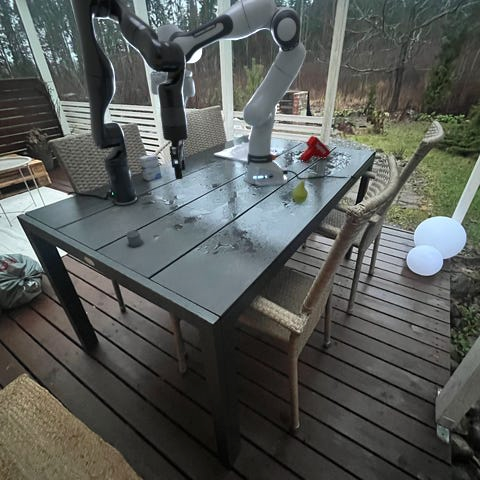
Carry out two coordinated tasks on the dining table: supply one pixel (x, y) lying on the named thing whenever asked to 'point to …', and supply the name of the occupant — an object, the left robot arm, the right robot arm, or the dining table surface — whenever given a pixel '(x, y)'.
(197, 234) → the dining table surface
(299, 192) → the fruit
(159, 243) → the dining table surface
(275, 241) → the dining table surface
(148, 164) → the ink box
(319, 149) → the toy gun
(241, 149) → the relief map
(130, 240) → the tin
